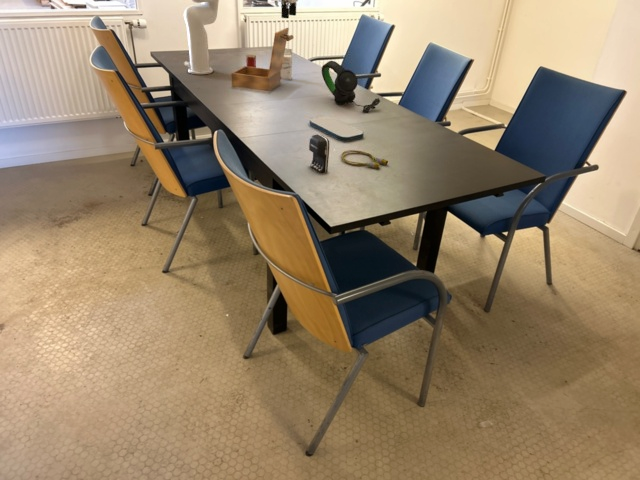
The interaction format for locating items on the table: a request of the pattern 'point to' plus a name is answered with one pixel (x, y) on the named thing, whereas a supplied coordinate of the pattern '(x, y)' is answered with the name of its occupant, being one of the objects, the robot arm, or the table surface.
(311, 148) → the battery charger
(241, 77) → the tea box
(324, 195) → the table surface
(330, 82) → the headset
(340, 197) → the table surface
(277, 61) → the tea box lid
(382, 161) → the extension cord
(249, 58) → the tea tin
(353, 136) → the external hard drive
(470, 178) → the table surface
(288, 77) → the ink cartridge box
